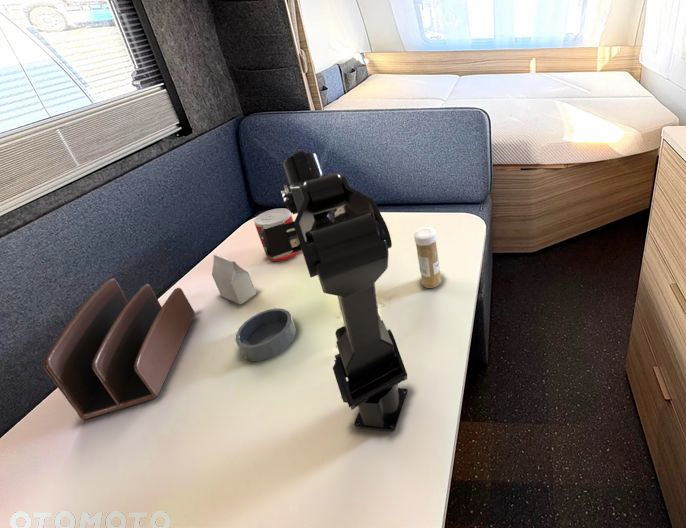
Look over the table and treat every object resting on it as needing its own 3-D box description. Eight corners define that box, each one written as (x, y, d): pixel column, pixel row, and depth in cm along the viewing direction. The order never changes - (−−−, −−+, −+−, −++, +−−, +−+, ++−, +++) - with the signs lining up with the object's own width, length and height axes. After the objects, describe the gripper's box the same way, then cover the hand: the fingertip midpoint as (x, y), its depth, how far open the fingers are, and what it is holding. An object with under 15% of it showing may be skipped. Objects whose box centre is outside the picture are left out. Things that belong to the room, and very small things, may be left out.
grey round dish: (276, 363, 69) (271, 349, 67) (229, 359, 70) (223, 345, 69) (305, 322, 77) (301, 309, 76) (263, 320, 78) (258, 307, 77)
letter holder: (81, 422, 60) (32, 360, 55) (138, 328, 77) (105, 273, 71) (158, 399, 64) (119, 337, 58) (196, 313, 80) (169, 259, 74)
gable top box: (240, 304, 82) (224, 267, 78) (221, 295, 85) (204, 259, 81) (256, 293, 85) (242, 257, 81) (237, 285, 88) (222, 249, 84)
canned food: (268, 248, 100) (255, 212, 96) (301, 240, 103) (290, 205, 99) (265, 265, 94) (251, 228, 89) (301, 256, 97) (289, 219, 92)
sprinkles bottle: (445, 283, 86) (439, 233, 80) (426, 291, 84) (418, 241, 78) (436, 272, 90) (430, 223, 84) (418, 280, 87) (410, 230, 82)
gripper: (355, 163, 76) (352, 191, 89) (246, 190, 67) (261, 218, 80) (374, 214, 73) (368, 235, 86) (263, 249, 64) (275, 268, 77)
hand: (320, 237), depth 83 cm, fingers closed on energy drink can, 6 cm apart
